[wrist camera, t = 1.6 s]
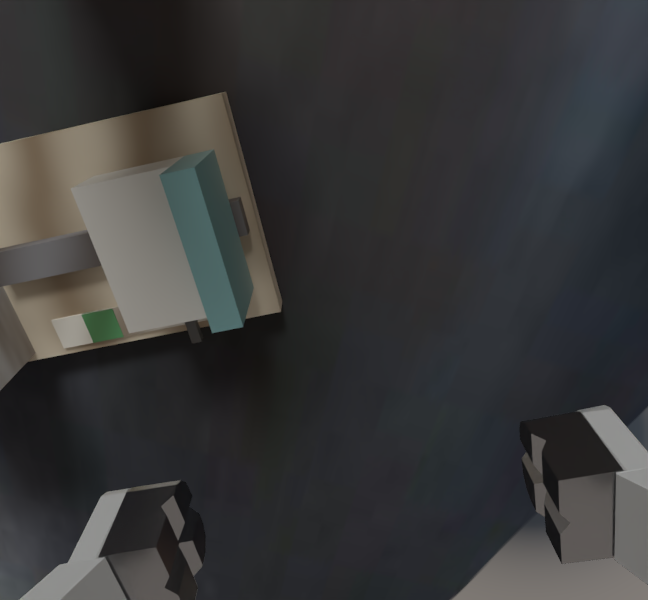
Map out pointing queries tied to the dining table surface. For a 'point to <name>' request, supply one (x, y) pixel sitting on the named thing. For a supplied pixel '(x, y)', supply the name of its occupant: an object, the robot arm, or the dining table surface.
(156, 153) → the frame
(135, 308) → the block with teal panel
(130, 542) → the robot arm
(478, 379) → the dining table surface
